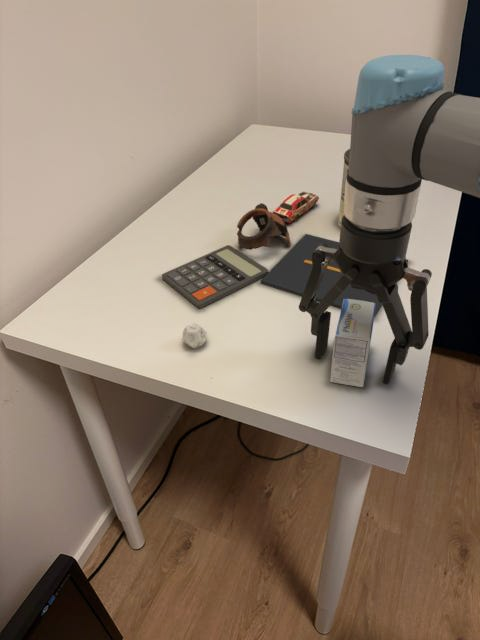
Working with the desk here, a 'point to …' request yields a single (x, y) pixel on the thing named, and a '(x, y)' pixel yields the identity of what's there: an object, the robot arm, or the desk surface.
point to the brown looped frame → (262, 228)
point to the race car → (296, 206)
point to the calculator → (214, 275)
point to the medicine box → (352, 342)
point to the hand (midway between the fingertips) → (353, 364)
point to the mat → (298, 267)
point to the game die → (194, 335)
